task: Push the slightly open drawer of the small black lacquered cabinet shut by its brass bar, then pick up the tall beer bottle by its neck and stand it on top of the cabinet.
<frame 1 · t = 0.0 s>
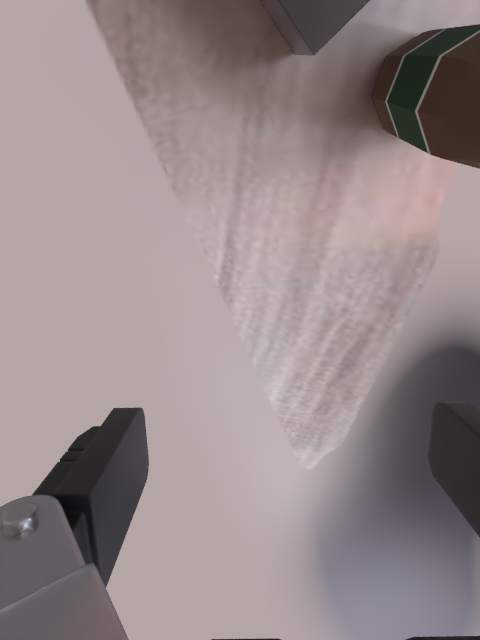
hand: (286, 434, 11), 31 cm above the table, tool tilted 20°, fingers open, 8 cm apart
beer bottle: (414, 87, 33), on the table
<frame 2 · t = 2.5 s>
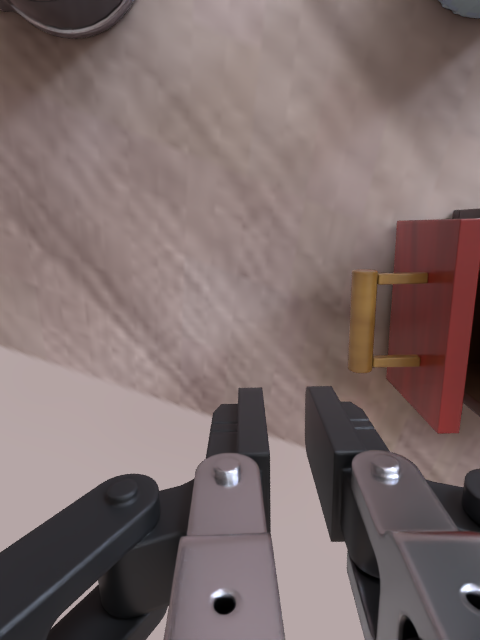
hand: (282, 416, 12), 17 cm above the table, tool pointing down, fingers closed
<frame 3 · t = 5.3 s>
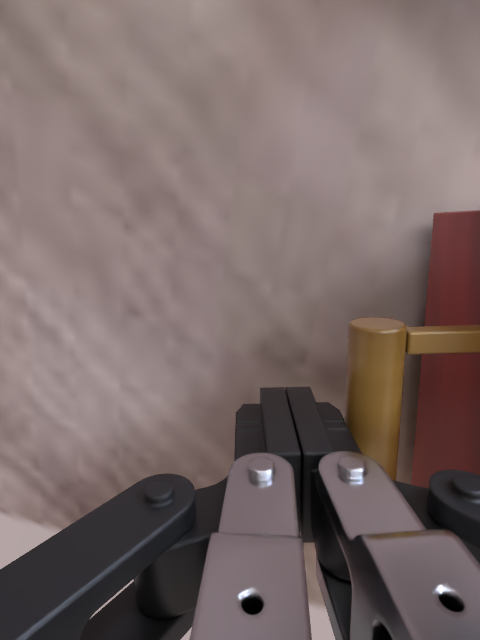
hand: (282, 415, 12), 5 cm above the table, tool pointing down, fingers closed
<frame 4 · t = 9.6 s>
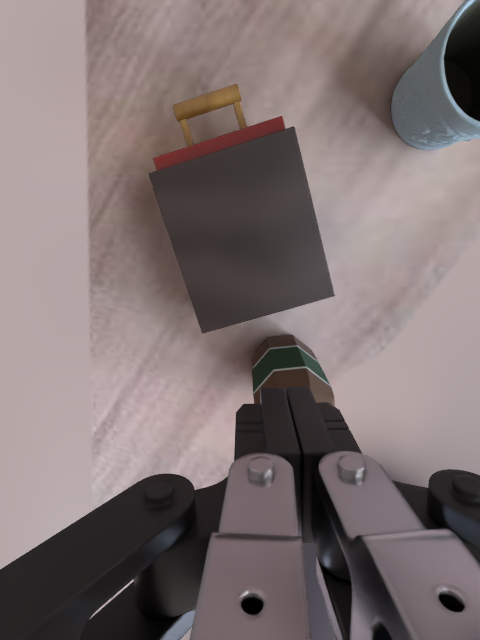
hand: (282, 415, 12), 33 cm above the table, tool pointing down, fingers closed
drinking glass: (432, 103, 39), on the table
cabinet: (245, 233, 43), on the table
drawer: (233, 195, 37), point 5 cm above the table, slide at 0.0 cm
beer bottle: (282, 362, 47), on the table
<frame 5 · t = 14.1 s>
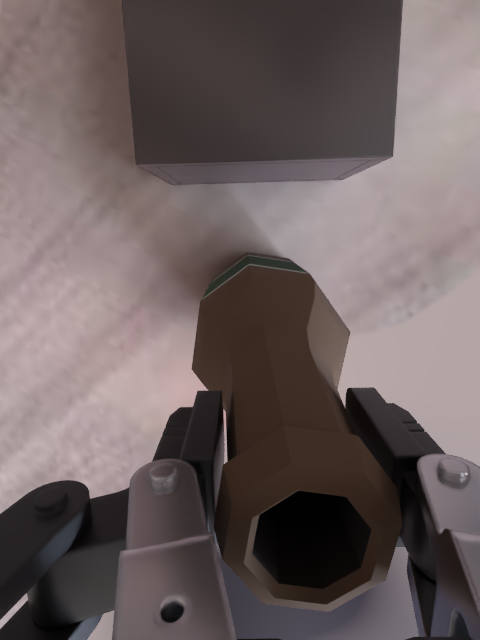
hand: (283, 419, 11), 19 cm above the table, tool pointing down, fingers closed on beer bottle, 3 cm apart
cabinet: (255, 70, 26), on the table
beer bottle: (258, 298, 30), on the table, touching gripper
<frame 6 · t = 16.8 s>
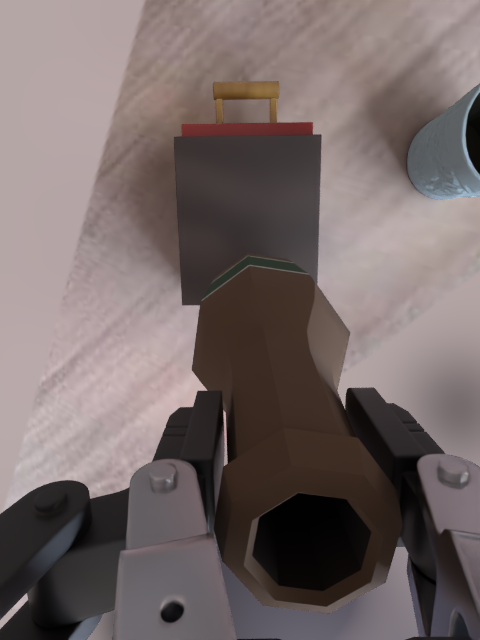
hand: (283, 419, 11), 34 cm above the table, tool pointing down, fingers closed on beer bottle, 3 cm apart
drinking glass: (445, 157, 42), on the table
cabinet: (246, 225, 44), on the table
drawer: (246, 185, 38), point 5 cm above the table, slide at 0.0 cm
beer bottle: (258, 299, 30), point 15 cm above the table, touching gripper
when the fingers open (29 cm above the table, at t = 19.6 s): beer bottle stays where it is, resting on cabinet.
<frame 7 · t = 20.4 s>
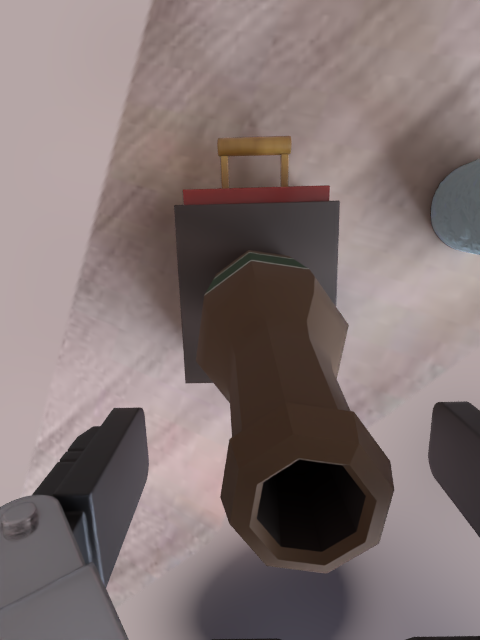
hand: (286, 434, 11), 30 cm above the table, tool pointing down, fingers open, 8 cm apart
drinking glass: (472, 205, 38), on the table
cabinet: (254, 280, 40), on the table
drawer: (255, 245, 35), point 5 cm above the table, slide at 0.0 cm
beer bottle: (259, 295, 31), point 9 cm above the table, touching cabinet
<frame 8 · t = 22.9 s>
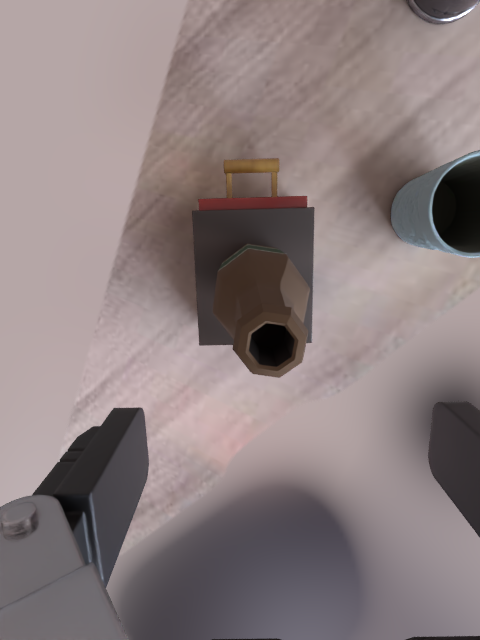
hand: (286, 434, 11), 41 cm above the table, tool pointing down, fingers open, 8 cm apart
drinking glass: (424, 209, 49), on the table
cabinet: (252, 269, 50), on the table
drawer: (252, 241, 45), point 5 cm above the table, slide at 0.0 cm
beer bottle: (255, 278, 41), point 9 cm above the table, touching cabinet
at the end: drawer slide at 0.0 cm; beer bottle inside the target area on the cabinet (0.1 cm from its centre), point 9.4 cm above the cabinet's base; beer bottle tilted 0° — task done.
